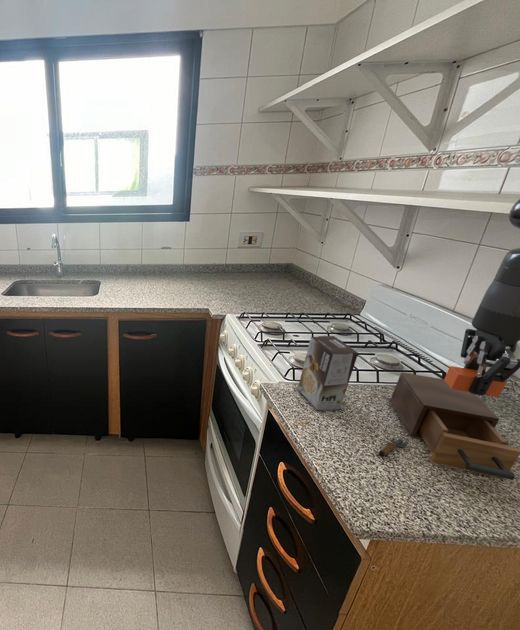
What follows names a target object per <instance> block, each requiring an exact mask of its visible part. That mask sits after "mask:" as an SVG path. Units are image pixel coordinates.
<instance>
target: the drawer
mask: <svg viewBox="0 0 520 630" xmlns="http://www.w3.org/2000/svg"><path fill="white" fill-rule="evenodd" d="M418 432H419V433H420V435H421V436H422V438H423V439H422V438H421V439H422V440H423V441H424V443H425V444H426V446H427V448H428V450H429V451H430V453H431V455H430V457H429V459H430V461H431V463H434V464H438V465H442V466H446V467H452V468H456V469H459V470H464V471H468V472H474V473H477V474H481V475H485V476H486V475H487V476H489V477H490V476H491V477H495V478H499V479H503V480H509V481H514V480H515V479H516V474H515V473H514V472H513V471H511V469H512V468H513V467H514V465H515V464H516V462H517V460H518V458H519V457H520V449H519V448H518V447H516V446H512V445H507V444H508V441H507V440H506V439H505V438H504V436H502V434H500V432H498V430H497V429H496V427H495V428H494V427H493V426H492V425H491V424H490V423H489V422H488V420H485V419H480V418H474V417H469V416H464V415H458V414H453V413H448V412H442V411H437V410H432V409H427V411H426V413H425V415H424V417H423V420H422V422H421V424H420V426H419V428H418Z"/></svg>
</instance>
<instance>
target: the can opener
mask: <svg viewBox="0 0 520 630" xmlns="http://www.w3.org/2000/svg"><path fill="white" fill-rule="evenodd" d="M395 440H396V439H394V438H391V443H390V444H388V445H387V446H385V447H383V448H382V449H381V450H379V452H378V454H379V456H382V457H385V456H387V455H388V454H390V453H391V452H392V451H393V450H395V449H396V448H397V447H399V448H406V447H408V442H407V441H405V442H404V439H403V438H402V437H400V438H399V439H398V440H396V441H395Z"/></svg>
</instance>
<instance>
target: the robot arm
mask: <svg viewBox="0 0 520 630" xmlns="http://www.w3.org/2000/svg"><path fill="white" fill-rule="evenodd" d="M508 220H509V223H510V224H511V225H512V226H513V227H514V228H516V229H518V230H520V198H519V199H518V200H517V201H516V202H515V203H514V204H513V205H512V207H511V209H510V211H509V213H508ZM471 326H472V327H473V328H465V332H464V335H463V341H462V345H461V351H460V358H463V359H464V360H463V365H464V367H463V368H467V369H473V370H478V371H477V375H476V376H475V378H474V380H473V382H472V384H471V386H470V388H469V391H470V393H472V394H476V395H477V396H486V395H485V394H486V392H487V390H488V388H489V387H490V385H491V383H492V381H498V382H505V381H506V382H507V380H508V379H510V378H511V376H513V375H514V374H515V373H516V372H517V371H518V370H519V369H520V358H516V356H515V354H514V353H516V349H517V343H518V342H519V341H520V247H514V248H511V249H510V250H508V252H506V254H505V255H504V257H503V259H502V260H501V263H500V264H499V267H498V270H497V271H496V273H495V275H494V279H493V280H492V281H491V283H490V285H489V286H488V287H487V289H486V291H485V293H484V295H483V297H482V298H481V301H480V303H479V305H478V308H477V310H476V312H475V314H474V315H473V318H472V320H471ZM487 368H489V369H488V370H487ZM485 371H486V372H485Z"/></svg>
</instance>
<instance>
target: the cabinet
mask: <svg viewBox="0 0 520 630" xmlns="http://www.w3.org/2000/svg"><path fill="white" fill-rule="evenodd" d="M389 401H390V403H391V405H392V406H393V408H394V410H395V412H396V413H397V415H398V417H399V419H400V421H401V422H402V425H403V426H404V428H405V429H406V431H407V433H408V435H409V436H410V437H412V438H419V439H422V440H423V438H422V436H421V435H420V433H419V432H418V428H419V426H420V424H421V422H422V420H423V417H424V415H425V413H426V411H427V409H432V410H437V411H442V412H448V413H453V414H458V415H464V416H469V417H474V418H480V419H485V420H488V422H489V423H490V424H491V425H492V426H493V427H494V428H495V429H496V427H497V424H498V423H499V421H500V418H499V416H497V415H496V414H495V412H493V411H492V410H491V409H490V407H488V405H486V403H485V402H484V401H483V400H482V399H481V398H480V397H479V395H476V394H472V393H470V392H466V391H461V390H455V389H451V388H450V387H449V385H448V384H447V383H446V382H445V381H444V378H439V377H432V376H426V375H420V374H414V373H409V372H400V374H399V377H398V380H397V382H396V385H395V387H394V389H393V392H392V395H391V397H390V398H389Z"/></svg>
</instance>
